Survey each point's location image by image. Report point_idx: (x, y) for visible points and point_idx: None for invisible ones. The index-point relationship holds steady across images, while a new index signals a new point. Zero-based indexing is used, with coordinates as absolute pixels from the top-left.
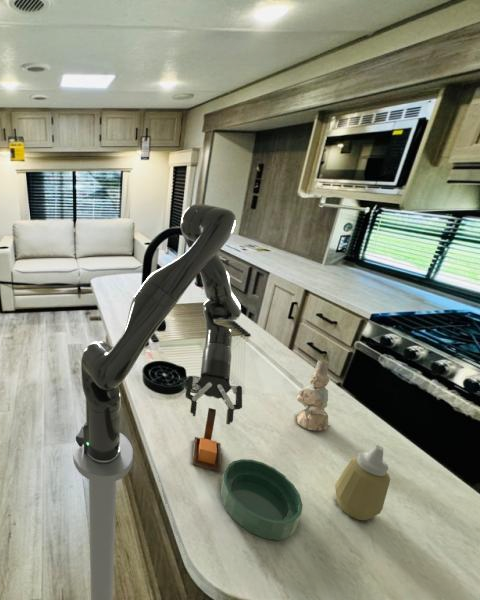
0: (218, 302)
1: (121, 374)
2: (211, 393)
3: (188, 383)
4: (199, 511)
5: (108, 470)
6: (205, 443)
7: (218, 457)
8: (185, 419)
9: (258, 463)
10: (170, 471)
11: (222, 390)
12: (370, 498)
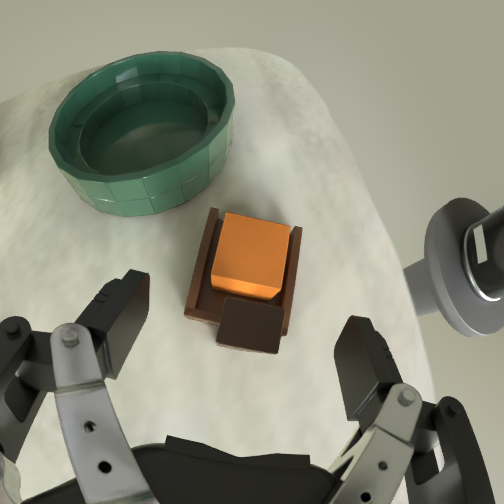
0: None
1: None
2: (265, 477)
3: (487, 486)
4: (286, 120)
5: (461, 210)
6: (263, 256)
7: (209, 241)
8: (296, 452)
9: (92, 174)
10: (355, 208)
11: (111, 498)
12: None
